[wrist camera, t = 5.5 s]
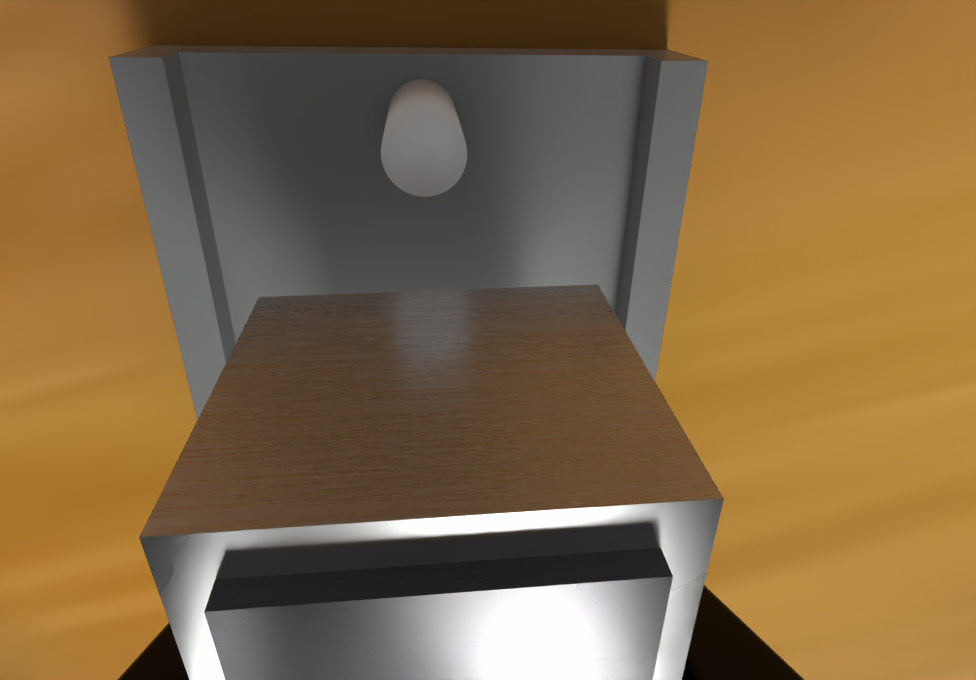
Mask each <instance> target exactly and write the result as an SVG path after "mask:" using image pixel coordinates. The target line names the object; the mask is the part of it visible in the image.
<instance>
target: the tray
mask: <svg viewBox="0 0 976 680" xmlns="http://www.w3.org/2000/svg"><path fill="white" fill-rule="evenodd" d="M109 61H110V65H111V69H112V73H113V77H114V81H115V85H116V89H117V93H118V97H119V101H120V106H121V110H122V114H123V118H124V122H125V126H126V130H127V134H128V138H129V142H130V146H131V151H132V155H133V159H134V163H135V167H136V171H137V175H138V179H139V183H140V187H141V191H142V196H143V200H144V204H145V208H146V212H147V216H148V220H149V224H150V228H151V232H152V236H153V241H154V245H155V249H156V253H157V257H158V261H159V265H160V269H161V273H162V277H163V281H164V286H165V290H166V294H167V298H168V302H169V306H170V310H171V314H172V318H173V322H174V327H175V331H176V335H177V339H178V343H179V347H180V351H181V355H182V359H183V363H184V367H185V372H186V376H187V380H188V384H189V388H190V392H191V396H192V400H193V404H194V408H195V412H196V417H197V420H198V418H199V416H200V414H201V412H202V410H203V408H204V406H205V404H206V402H207V400H208V398H209V396H210V394H211V392H212V390H213V388H214V386H215V384H216V382H217V380H218V378H219V376H220V374H221V372H222V370H223V368H224V366H225V364H226V362H227V360H228V358H229V356H230V354H231V352H232V350H233V348H234V346H235V344H236V342H237V340H238V338H239V336H240V334H241V332H242V330H243V328H244V326H245V324H246V322H247V320H248V318H249V316H250V314H251V312H252V310H253V308H254V306H255V304H256V302H257V300H258V298H259V297H277V296H303V295H330V294H357V293H383V292H410V291H437V290H463V289H490V288H517V287H543V286H570V285H596V284H598V285H599V287H600V289H601V290H602V292H603V294H604V296H605V297H606V299H607V301H608V302H609V304H610V306H611V307H612V309H613V311H614V313H615V314H616V316H617V318H618V319H619V321H620V323H621V325H622V326H623V328H624V330H625V331H626V333H627V335H628V336H629V338H630V340H631V342H632V343H633V345H634V347H635V348H636V350H637V352H638V354H639V355H640V357H641V359H642V360H643V362H644V364H645V365H646V367H647V369H648V371H649V372H650V374H651V376H652V377H653V379H654V381H655V377H656V371H657V365H658V359H659V353H660V347H661V341H662V335H663V329H664V323H665V317H666V311H667V305H668V299H669V293H670V287H671V281H672V275H673V269H674V263H675V256H676V250H677V244H678V238H679V232H680V226H681V220H682V214H683V208H684V202H685V196H686V190H687V184H688V178H689V172H690V166H691V160H692V154H693V148H694V142H695V136H696V130H697V124H698V118H699V112H700V106H701V99H702V93H703V87H704V81H705V75H706V69H707V63H708V61H705V60H702V59H698V58H695V57H692V56H688V55H685V54H681V53H678V52H675V51H671V50H663V49H544V48H425V47H305V46H186V45H153V46H149V47H145V48H141V49H138V50H134V51H130V52H126V53H123V54H119V55H115V56H111V57H109Z"/></svg>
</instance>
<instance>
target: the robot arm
mask: <svg viewBox="0 0 976 680" xmlns="http://www.w3.org/2000/svg"><path fill="white" fill-rule="evenodd" d="M118 680H189V677H188V674H187V672H186V669H185V666H184V663H183V660H182V657H181V654H180V652H179V649H178V646H177V643H176V640H175V637H174V635H173V632H172V629H171V626H170V623H168V624H167V625H166V626H165V628H164V629H163V630H162V631H161V632H160V633H159V634H158V635H157V636H156V638H155V639H154V640H153V641H152V642H151V643H150V644H149V645H148V647H147V648H146V649H145V650H144V651H143V652H142V653H141V654H140V655H139V657H138V658H137V659H136V660H135V661H134V662H133V663H132V664H131V665H130V667H129V668H128V669H127V670H126V671H125V672H124V673H123V674H122V675H121V677H120V678H119V679H118ZM682 680H804V679H803V678H802V677H801V676H800V675H799V674H798V673H797V672H796V671H795V670H794V669H792V668H791V667H790V666H789V665H788V664H787V663H786V662H785V661H784V660H783V659H782V658H781V657H780V656H779V655H778V654H777V653H776V652H774V651H773V650H772V649H771V648H770V647H769V646H768V645H767V644H766V643H765V642H764V641H763V640H762V639H761V638H760V637H759V636H758V635H756V634H755V633H754V632H753V631H752V630H751V629H750V628H749V627H748V626H747V625H746V624H745V623H744V622H743V621H742V620H741V619H740V618H738V617H737V616H736V615H735V614H734V613H733V612H732V611H731V610H730V609H729V608H728V607H727V606H726V605H725V604H724V603H723V602H722V601H720V600H719V599H718V598H717V597H716V596H715V595H714V594H713V593H712V592H711V591H710V590H709V589H708V588H707V587H706V586H705V585H704V586H703V590H702V594H701V599H700V603H699V607H698V611H697V616H696V620H695V624H694V629H693V633H692V637H691V642H690V646H689V650H688V655H687V659H686V663H685V668H684V672H683V676H682Z"/></svg>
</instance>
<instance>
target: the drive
mask: <svg viewBox="0 0 976 680" xmlns="http://www.w3.org/2000/svg"><path fill="white" fill-rule="evenodd" d="M723 499H724V498H723V497H722V495H721V493H720V492H719V490H718V488H717V487H716V485H715V483H714V481H713V480H712V478H711V476H710V475H709V473H708V471H707V469H706V468H705V466H704V464H703V463H702V461H701V459H700V458H699V456H698V454H697V452H696V451H695V449H694V447H693V446H692V444H691V442H690V440H689V439H688V437H687V435H686V434H685V432H684V430H683V429H682V427H681V425H680V423H679V422H678V420H677V418H676V417H675V415H674V413H673V411H672V410H671V408H670V406H669V405H668V403H667V401H666V400H665V398H664V396H663V394H662V393H661V391H660V389H659V388H658V386H657V384H656V382H655V381H654V379H653V377H652V376H651V374H650V372H649V371H648V369H647V367H646V365H645V364H644V362H643V360H642V359H641V357H640V355H639V354H638V352H637V350H636V348H635V347H634V345H633V343H632V342H631V340H630V338H629V336H628V335H627V333H626V331H625V330H624V328H623V326H622V325H621V323H620V321H619V319H618V318H617V316H616V314H615V313H614V311H613V309H612V307H611V306H610V304H609V302H608V301H607V299H606V297H605V296H604V294H603V292H602V290H601V289H600V287H599V285H598V284H596V285H570V286H543V287H517V288H490V289H463V290H437V291H410V292H383V293H357V294H330V295H303V296H277V297H259V298H258V300H257V302H256V304H255V306H254V308H253V310H252V312H251V314H250V316H249V318H248V320H247V322H246V324H245V326H244V328H243V330H242V332H241V334H240V336H239V338H238V340H237V342H236V344H235V346H234V348H233V350H232V352H231V354H230V356H229V358H228V360H227V362H226V364H225V366H224V368H223V370H222V372H221V374H220V376H219V378H218V380H217V382H216V384H215V386H214V388H213V390H212V392H211V394H210V396H209V398H208V400H207V402H206V404H205V406H204V408H203V410H202V412H201V414H200V416H199V418H198V420H197V422H196V424H195V426H194V428H193V430H192V432H191V434H190V436H189V438H188V440H187V442H186V444H185V446H184V448H183V450H182V452H181V454H180V457H179V459H178V461H177V463H176V465H175V467H174V469H173V471H172V473H171V475H170V477H169V479H168V481H167V483H166V485H165V487H164V489H163V491H162V493H161V495H160V497H159V499H158V501H157V503H156V505H155V507H154V509H153V511H152V513H151V515H150V517H149V519H148V521H147V523H146V525H145V527H144V529H143V531H142V533H141V535H140V537H139V538H140V541H141V544H142V546H143V549H144V552H145V555H146V558H147V561H148V564H149V566H150V569H151V572H152V575H153V578H154V581H155V583H156V586H157V589H158V592H159V595H160V598H161V600H162V603H163V606H164V609H165V612H166V615H167V618H168V620H169V623H170V626H171V629H172V632H173V635H174V637H175V640H176V643H177V646H178V649H179V652H180V654H181V657H182V660H183V663H184V666H185V669H186V672H187V674H188V677H189V680H682V676H683V672H684V668H685V663H686V659H687V655H688V650H689V646H690V642H691V637H692V633H693V629H694V624H695V620H696V616H697V611H698V607H699V603H700V599H701V594H702V590H703V586H704V581H705V577H706V573H707V568H708V564H709V560H710V555H711V551H712V547H713V543H714V538H715V534H716V530H717V525H718V521H719V517H720V512H721V508H722V504H723Z"/></svg>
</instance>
